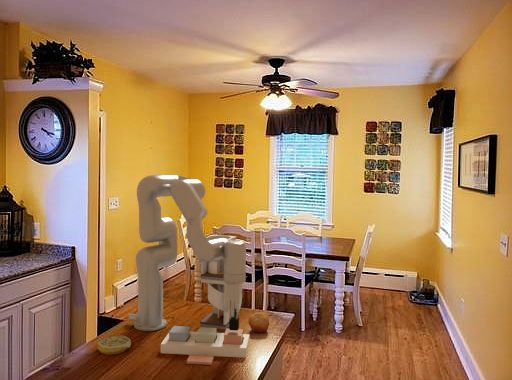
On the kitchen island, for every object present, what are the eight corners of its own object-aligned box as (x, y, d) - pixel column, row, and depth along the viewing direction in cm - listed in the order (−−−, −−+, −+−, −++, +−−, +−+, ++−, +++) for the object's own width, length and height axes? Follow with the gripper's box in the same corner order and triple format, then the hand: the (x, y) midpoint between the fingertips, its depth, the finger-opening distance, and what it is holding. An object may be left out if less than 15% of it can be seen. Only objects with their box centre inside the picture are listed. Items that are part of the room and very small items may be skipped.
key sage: (196, 342, 146) (196, 333, 146) (199, 336, 152) (199, 327, 152) (213, 343, 146) (213, 334, 146) (216, 336, 152) (216, 328, 152)
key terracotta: (223, 344, 145) (223, 335, 145) (226, 337, 151) (226, 328, 151) (241, 345, 145) (241, 335, 145) (243, 338, 151) (243, 329, 151)
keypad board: (160, 353, 144) (160, 343, 144) (170, 339, 156) (170, 330, 156) (245, 357, 142) (246, 348, 142) (249, 343, 154) (249, 334, 154)
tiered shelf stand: (210, 317, 180) (212, 234, 178) (234, 320, 177) (236, 236, 175) (200, 326, 169) (201, 238, 167) (225, 329, 166) (226, 240, 164)
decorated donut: (136, 349, 147) (136, 339, 147) (107, 359, 139) (107, 348, 139) (120, 341, 154) (120, 330, 154) (92, 349, 146) (92, 339, 146)
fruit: (270, 322, 171) (269, 309, 167) (268, 339, 164) (268, 325, 160) (250, 321, 172) (249, 307, 167) (248, 337, 165) (247, 324, 161)
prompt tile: (186, 363, 137) (186, 361, 137) (190, 356, 142) (190, 354, 142) (211, 364, 136) (211, 362, 136) (213, 357, 141) (213, 355, 141)
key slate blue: (169, 341, 147) (169, 332, 147) (173, 334, 153) (173, 325, 153) (186, 342, 146) (186, 333, 146) (190, 335, 152) (190, 326, 152)
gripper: (227, 271, 155) (226, 321, 156) (220, 282, 140) (219, 337, 141) (247, 272, 154) (246, 322, 155) (243, 283, 139) (242, 338, 140)
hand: (234, 329), depth 148 cm, fingers closed
